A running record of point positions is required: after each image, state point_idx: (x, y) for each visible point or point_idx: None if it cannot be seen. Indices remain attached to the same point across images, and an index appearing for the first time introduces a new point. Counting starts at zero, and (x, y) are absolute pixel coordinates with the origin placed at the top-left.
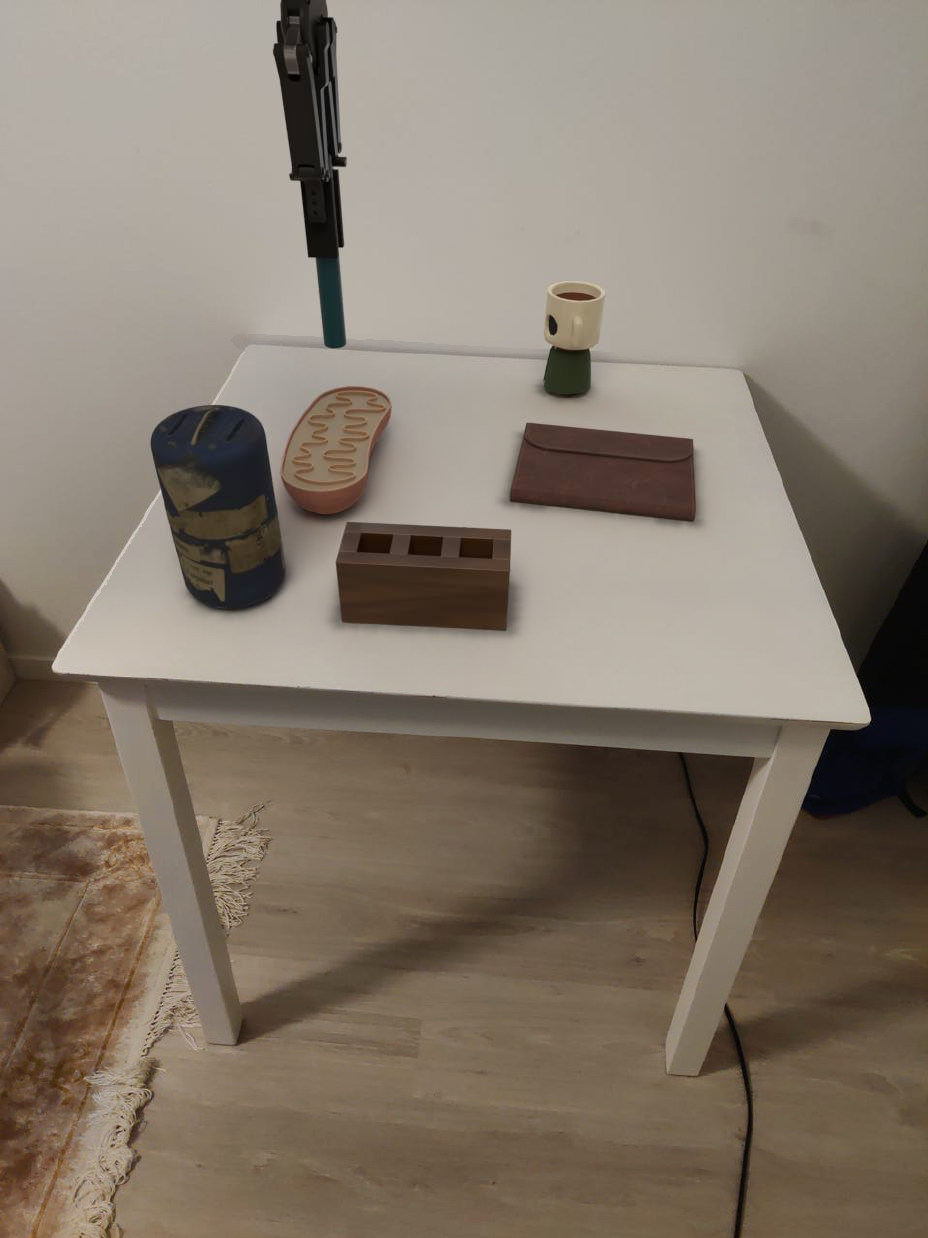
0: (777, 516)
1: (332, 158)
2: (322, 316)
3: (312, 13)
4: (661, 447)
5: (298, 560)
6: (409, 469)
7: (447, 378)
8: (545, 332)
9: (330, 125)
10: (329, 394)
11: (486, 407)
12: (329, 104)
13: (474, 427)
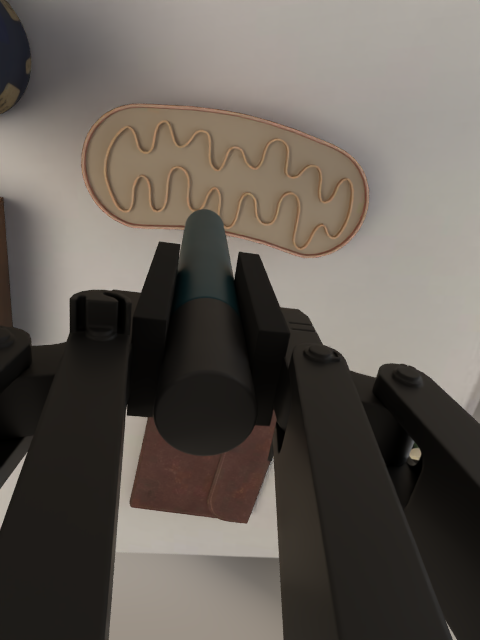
0: (143, 548)
1: (275, 434)
2: (192, 223)
3: None
4: (232, 499)
5: (33, 129)
6: (231, 261)
7: (444, 311)
8: (418, 454)
9: (279, 533)
10: (356, 167)
11: (362, 350)
12: (283, 629)
13: (318, 335)
